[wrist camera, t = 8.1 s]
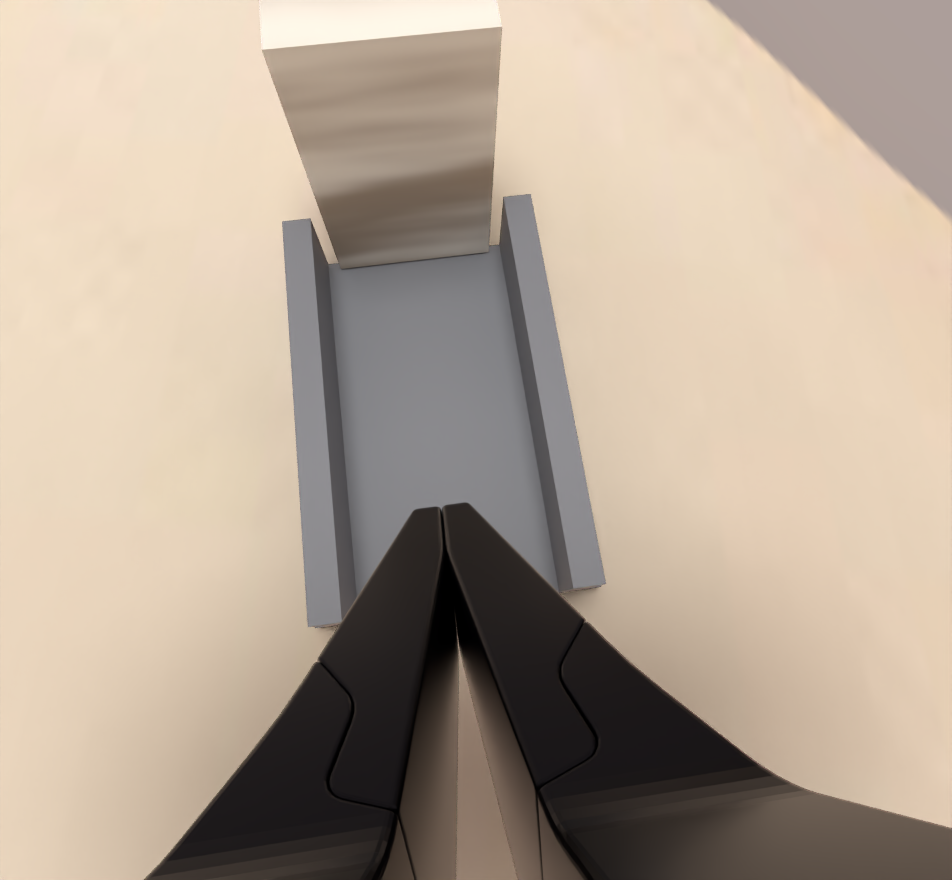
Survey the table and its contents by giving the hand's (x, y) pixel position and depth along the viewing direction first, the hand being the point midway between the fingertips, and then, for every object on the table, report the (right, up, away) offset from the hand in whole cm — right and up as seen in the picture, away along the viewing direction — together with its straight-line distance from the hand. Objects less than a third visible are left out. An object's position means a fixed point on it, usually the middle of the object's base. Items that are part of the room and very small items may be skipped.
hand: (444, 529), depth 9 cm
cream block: (-2, +11, +16) cm, 19 cm away
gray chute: (-1, +2, +15) cm, 15 cm away
